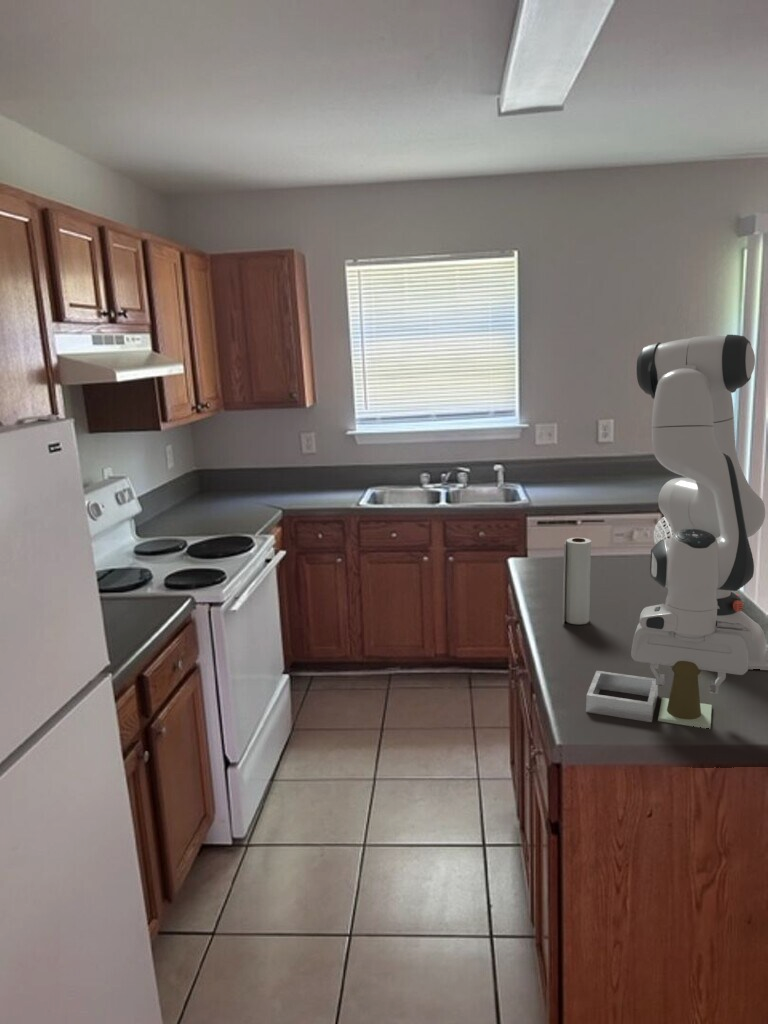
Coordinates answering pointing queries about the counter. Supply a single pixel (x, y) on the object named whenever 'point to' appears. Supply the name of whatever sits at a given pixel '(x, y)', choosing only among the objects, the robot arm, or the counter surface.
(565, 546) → the paper towel roll
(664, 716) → the green pad
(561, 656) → the counter surface
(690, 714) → the olive green rounded piece
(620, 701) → the frame
